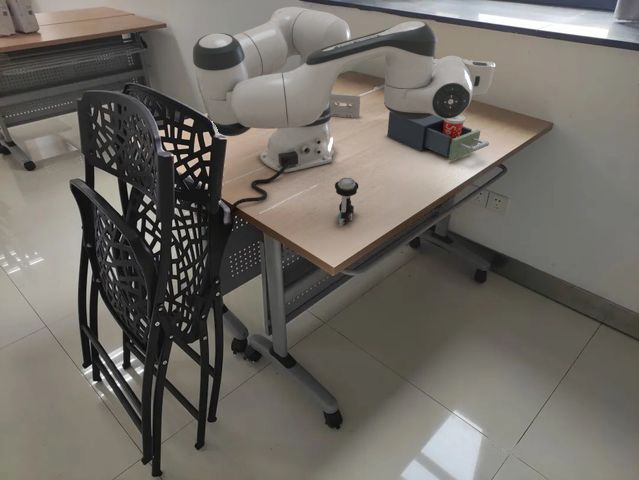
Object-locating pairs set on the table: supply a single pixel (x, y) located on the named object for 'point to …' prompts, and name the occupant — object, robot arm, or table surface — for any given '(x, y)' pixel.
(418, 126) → the cabinet
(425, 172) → the table surface
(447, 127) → the beverage cup
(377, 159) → the table surface
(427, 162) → the table surface
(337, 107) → the cassette
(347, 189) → the push button
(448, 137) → the drawer
